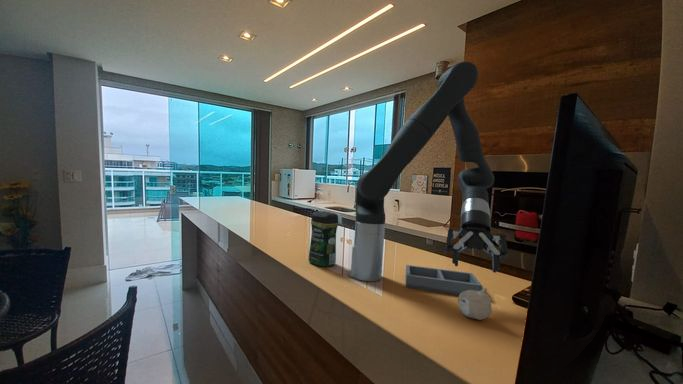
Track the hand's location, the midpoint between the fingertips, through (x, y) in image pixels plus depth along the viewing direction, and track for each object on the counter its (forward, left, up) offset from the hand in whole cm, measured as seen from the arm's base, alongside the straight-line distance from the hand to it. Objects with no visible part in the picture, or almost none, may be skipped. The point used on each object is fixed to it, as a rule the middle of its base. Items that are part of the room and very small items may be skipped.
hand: (475, 267), depth 65 cm
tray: (-6, +13, -10) cm, 17 cm away
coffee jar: (-45, +19, -10) cm, 50 cm away
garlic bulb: (-1, -5, -10) cm, 12 cm away
